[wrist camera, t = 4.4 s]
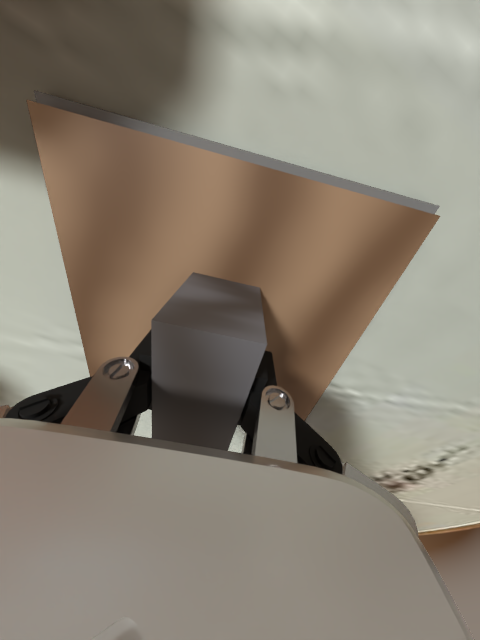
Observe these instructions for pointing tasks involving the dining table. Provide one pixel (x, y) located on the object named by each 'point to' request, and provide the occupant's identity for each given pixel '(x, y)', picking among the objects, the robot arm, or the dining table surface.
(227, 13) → the dining table surface
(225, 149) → the mat
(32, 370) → the dining table surface
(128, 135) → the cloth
